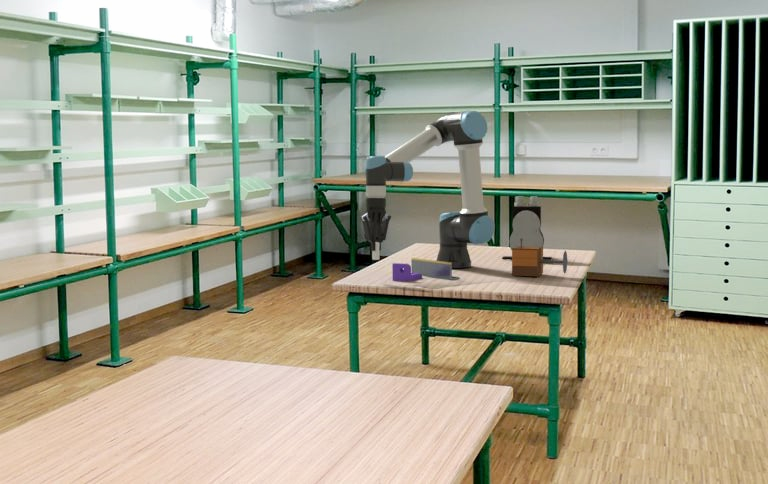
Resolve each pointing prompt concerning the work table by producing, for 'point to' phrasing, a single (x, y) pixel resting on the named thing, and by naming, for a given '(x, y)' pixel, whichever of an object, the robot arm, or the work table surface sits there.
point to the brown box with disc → (531, 260)
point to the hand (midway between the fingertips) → (375, 259)
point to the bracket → (404, 272)
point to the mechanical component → (526, 224)
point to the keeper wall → (433, 268)
